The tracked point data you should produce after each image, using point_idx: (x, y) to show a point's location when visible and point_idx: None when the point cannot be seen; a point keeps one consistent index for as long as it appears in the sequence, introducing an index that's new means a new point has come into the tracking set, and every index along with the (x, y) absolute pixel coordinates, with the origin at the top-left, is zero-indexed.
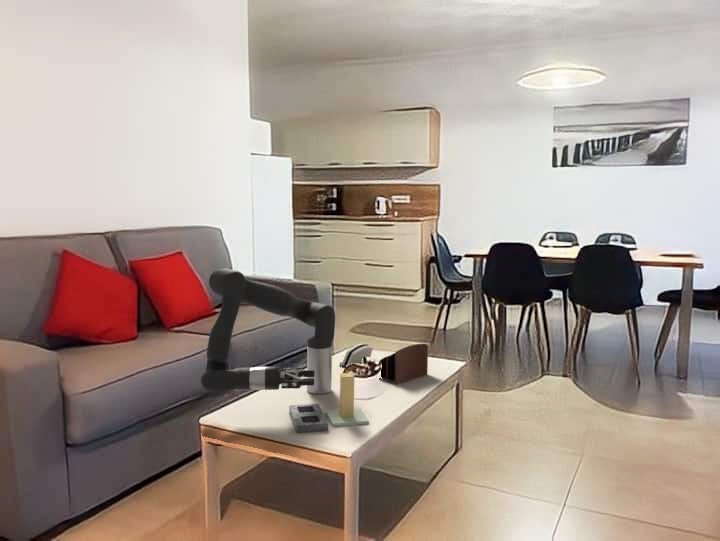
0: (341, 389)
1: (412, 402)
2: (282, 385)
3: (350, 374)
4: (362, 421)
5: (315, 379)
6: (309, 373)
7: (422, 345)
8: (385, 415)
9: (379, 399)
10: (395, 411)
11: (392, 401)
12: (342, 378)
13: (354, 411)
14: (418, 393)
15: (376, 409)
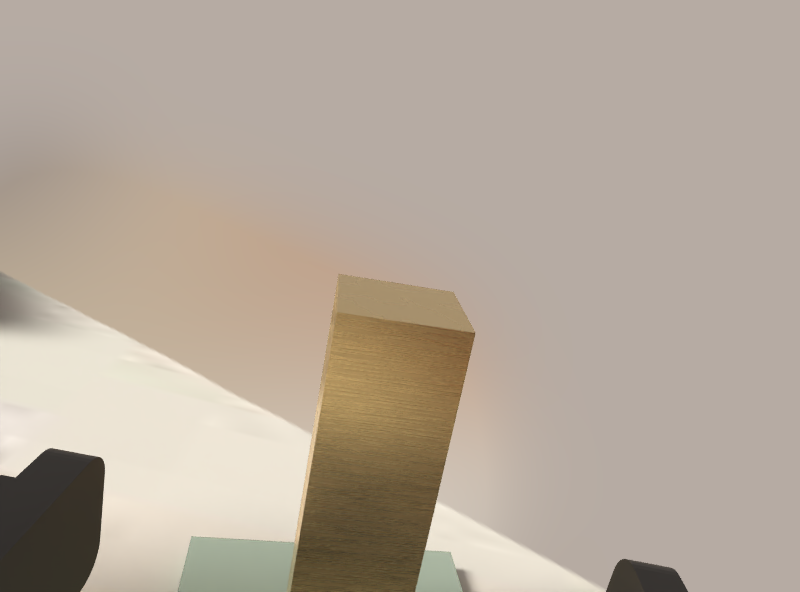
0: (407, 466)
1: (168, 359)
2: None
3: (386, 288)
4: (460, 584)
5: None
6: (40, 578)
7: None
8: None
9: (32, 426)
10: (264, 428)
11: (107, 398)
12: (470, 347)
13: (249, 581)
14: (63, 319)
15: (198, 478)
